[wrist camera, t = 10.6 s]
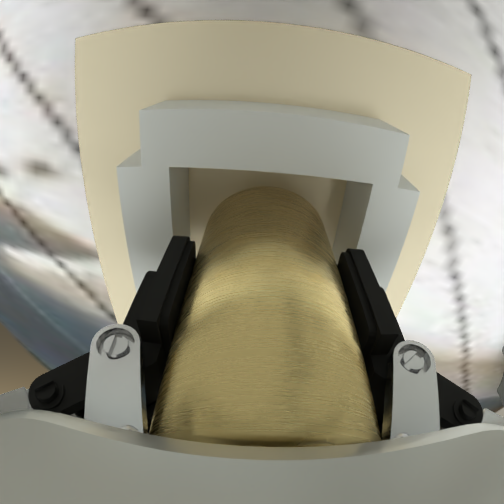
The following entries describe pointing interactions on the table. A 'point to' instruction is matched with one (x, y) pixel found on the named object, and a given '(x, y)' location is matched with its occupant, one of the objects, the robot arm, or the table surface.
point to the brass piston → (265, 335)
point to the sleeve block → (262, 138)
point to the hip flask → (501, 387)
